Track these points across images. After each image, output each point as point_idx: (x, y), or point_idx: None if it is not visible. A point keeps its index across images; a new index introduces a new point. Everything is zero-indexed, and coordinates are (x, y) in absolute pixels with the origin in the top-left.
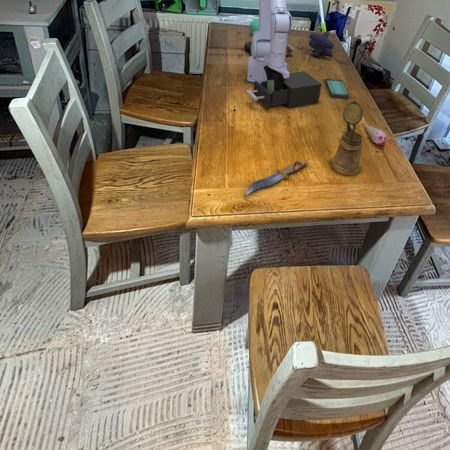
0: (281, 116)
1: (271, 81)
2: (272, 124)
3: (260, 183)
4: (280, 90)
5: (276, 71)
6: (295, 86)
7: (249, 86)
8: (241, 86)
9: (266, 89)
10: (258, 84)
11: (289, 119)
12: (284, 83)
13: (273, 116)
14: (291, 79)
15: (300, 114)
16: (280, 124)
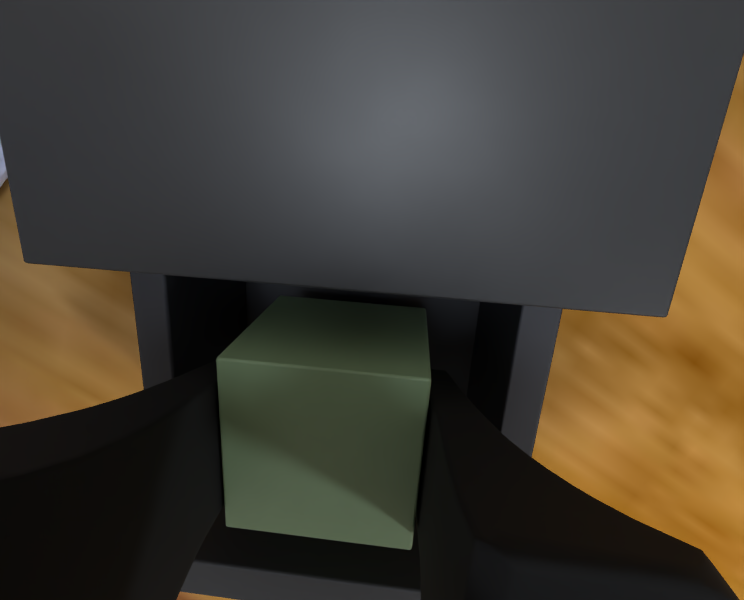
0: (633, 407)
1: (279, 499)
2: (691, 542)
3: None
4: (508, 434)
5: (106, 489)
6: (640, 160)
7: (15, 344)
8: (9, 406)
9: (406, 593)
10: (240, 595)
11: (726, 374)
12: (389, 291)
13: (589, 466)
14: (285, 14)
15: (728, 202)
16: (737, 492)
